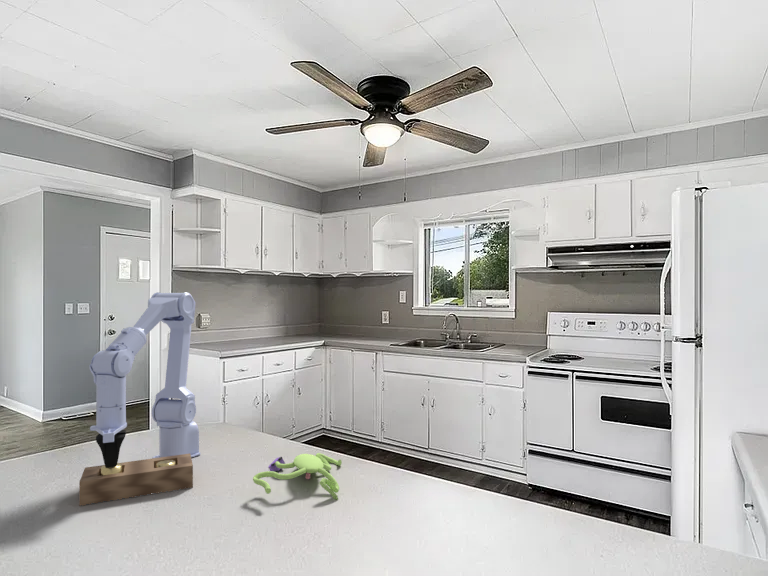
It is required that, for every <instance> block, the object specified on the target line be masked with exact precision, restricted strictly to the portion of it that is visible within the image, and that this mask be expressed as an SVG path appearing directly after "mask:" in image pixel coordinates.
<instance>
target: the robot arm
mask: <svg viewBox="0 0 768 576" xmlns="http://www.w3.org/2000/svg"><path fill="white" fill-rule="evenodd" d="M196 304H197V303H196V301H195V299H194V297H193V296H192V294H191V293H190V292H187V291H186V292H154V293H153V294H152V295H151V297H150V298H148V300H147V308H146V310H145V311H144V312H143V314H142V315H141V316H140V318H138V320H137V321H136V323H135V324H134V325H133V326H128V327H125V328H123V329H122V330H121V331H120V334H118V336H117V337H116V338H115V339H114V340H113V341H112V342H111V343H110V344H109V345H108V346H107V347H106V349H105V350H104V349H103V350H100V351H98V352H97V353H95V354H94V355H93V357H92V358H91V361H90V364H89V365H88V366H89V371H90V374H91V375H92V377H93V383H94V385H95V386H96V388H95V389H96V390H95V392H96V393H95V394H96V395H95V397H96V398H95V404H96V408H95V409H96V410H95V411H96V412H95V413H96V414H95V417H96V418H95V420H96V423H95V424H96V425H91V426H89V431H90V432H91V431H92V432H93V431H96V432H97V433H98V434H97V435H96V437H95V442H96V443H97V445H98V447H99V449H100V451H101V454H102V459H103V463H104V464H103V465H105V467H106V468H109V467H116V466H117V463H119V456H120V452H121V451H120V450H121V447H122V444H123V442H124V440H125V438H126V434H127V430H126V428H127V427H128V422H127V410H126V409H127V407H126V406H127V405H126V404H127V394H126V393H127V391H126V390H127V389H126V387H127V375H128V374H129V373H131V371H132V368H133V363H134V361H135V357H136V356H137V354H139V352H140V351H141V349H143V347H145V345H146V343H147V340H148V339H147V335H148V334H149V333H150V332H151V331H152V330H153V329H154V328H155V327H156V326H157V325H158V324H159V323H161V322H162V323H163V324H165V325H167V326H168V328H169V339H168V349H167V361H166V369H165V370H166V371H165V382H164V388H162V389H160V390H159V391H158V392H157V393H156V395H155V399H154V403H153V405H152V407H151V417H152V418H151V419H152V420H153V421H154V423H156V426H157V427H158V428H159V430H158V431H159V432H158V433H159V434H158V435H159V436H158V437H159V439H158V440H159V442H158V444H159V446H158V447H159V451H158V452H159V454H157V455H154V456H152V457H151V459H152V458H160V457H167V456H175V455H182V454H189V453H190V454H191V458H194V457H197V456H201V452H200V431H199V430H200V429H199V426H198V424H197V423H196V421H194V419H195V416H196V415H197V406H196V401H195V399H196V397H195V396H196V395H195V394H194V393H193V392H192V391H191V390H190V389H188V388H187V379H188V367H189V357H190V346H191V337H192V336H191V334H192V325H193V324H194V322H195V315H196V313H195V312H196Z"/></svg>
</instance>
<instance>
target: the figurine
mask: <svg viewBox="0 0 768 576" xmlns="http://www.w3.org/2000/svg"><path fill="white" fill-rule="evenodd" d="M332 463H334V464H333V465H335V464H336V465H335V466H337V465H338V467H339V466H342V459H338V460H336V459H334V458H332V457H329V456H327V455H325V454H324V453H321V452H317V453H316V454H315V455H314V454H310V453H301V454H298V455H296V456H295V458H294V459H293V462H289V463H286V462H285V461H284V459H283V457H282V456H280V457H276V458H275V459H274V460H273V461H272V462H271V463H270V464H269V465H268V467H267V468H268V471H261V472H258V473H256V474H255V475H254V476H253V477H252V481H253V483H254V484H256V485H257V486H258V485H259V486H261V487H262V488H264V491H265V494H267V495H269V494H271V492H272V488H271V485H270V484H269V483H268V482H267V481H266V480H263V479H262V478H275V479H276V480H277V479H278V480H282V481H284V480H285V481H286V480H292V479H294V478H298V477H299V476H302V475H304V474H305V479H306V480H309V479H311V474H316V473H318V474H321V475H322V476H323V478H321V479H320V481H319V485H320V486H321V487H322V489H324V490H325V491H326V492H327V493H328V494H329V495H330V496H331V497H332V499H333V500H339V497H338V495H337V494H338V493H339V490H340V486H339V482H338V481H337V480H336V478H335V477H334V476H333V475H332V474H331V473H329V471H331V470H332V466H331V464H332ZM294 468H297V470H296V471H293V472H289V473H279V471H280V470H281V469H294ZM324 477H325V478H324Z"/></svg>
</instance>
